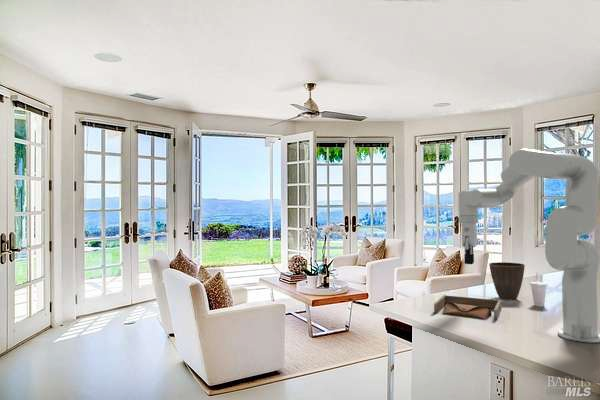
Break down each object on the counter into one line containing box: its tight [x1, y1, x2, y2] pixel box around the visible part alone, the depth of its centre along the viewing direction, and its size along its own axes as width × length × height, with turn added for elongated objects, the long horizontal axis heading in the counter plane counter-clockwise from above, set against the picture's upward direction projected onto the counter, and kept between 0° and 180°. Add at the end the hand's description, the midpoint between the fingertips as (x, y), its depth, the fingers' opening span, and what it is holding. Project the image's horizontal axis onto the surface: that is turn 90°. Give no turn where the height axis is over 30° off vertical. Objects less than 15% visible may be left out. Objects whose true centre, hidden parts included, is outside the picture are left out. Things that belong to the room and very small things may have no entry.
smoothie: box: [530, 272, 548, 307], centre depth 182 cm, size 6×6×14 cm
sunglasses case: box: [441, 302, 493, 321], centre depth 168 cm, size 18×7×7 cm
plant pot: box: [488, 261, 525, 301], centre depth 198 cm, size 15×15×16 cm
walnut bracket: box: [433, 294, 502, 322], centre depth 173 cm, size 19×23×4 cm
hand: (469, 263), depth 177 cm, fingers closed
